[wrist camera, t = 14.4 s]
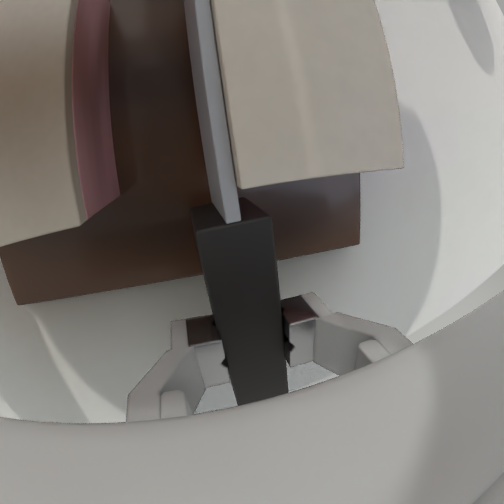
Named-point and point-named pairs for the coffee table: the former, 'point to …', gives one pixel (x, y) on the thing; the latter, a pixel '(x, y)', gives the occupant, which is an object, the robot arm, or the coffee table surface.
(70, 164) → the cake
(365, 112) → the cake slice
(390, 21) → the coffee table surface
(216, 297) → the knife
